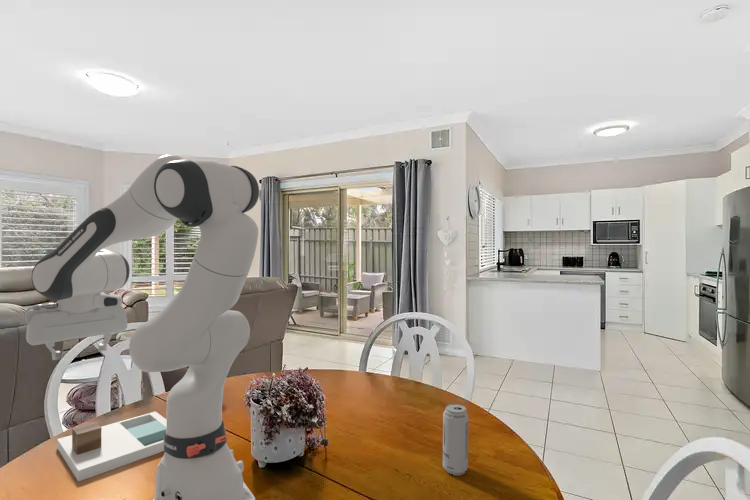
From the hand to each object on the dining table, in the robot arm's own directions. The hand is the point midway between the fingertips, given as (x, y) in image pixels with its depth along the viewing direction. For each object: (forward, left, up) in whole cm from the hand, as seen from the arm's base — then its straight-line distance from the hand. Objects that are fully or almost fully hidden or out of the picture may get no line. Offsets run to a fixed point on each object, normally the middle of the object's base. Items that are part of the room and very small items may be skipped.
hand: (80, 354), depth 100 cm
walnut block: (-1, -1, -24) cm, 24 cm away
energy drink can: (-73, -59, -26) cm, 98 cm away
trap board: (-1, -9, -26) cm, 28 cm away
